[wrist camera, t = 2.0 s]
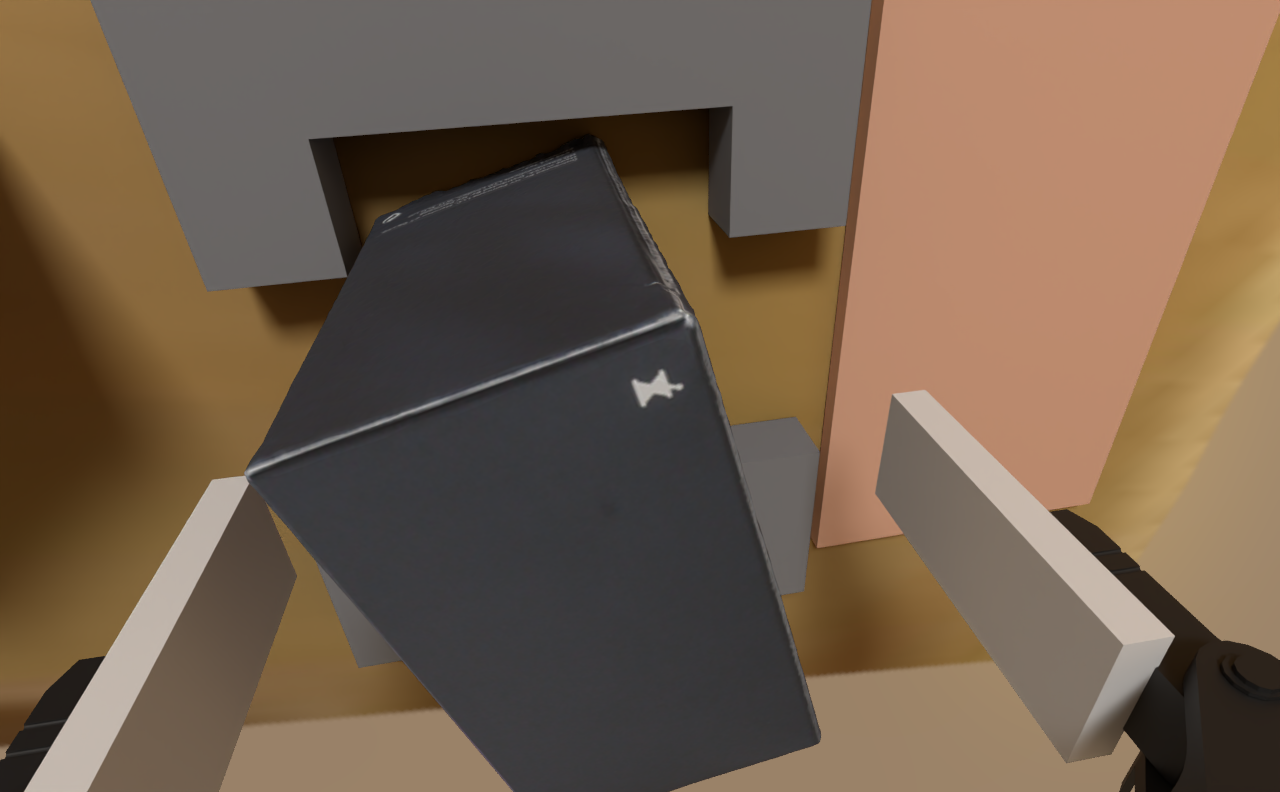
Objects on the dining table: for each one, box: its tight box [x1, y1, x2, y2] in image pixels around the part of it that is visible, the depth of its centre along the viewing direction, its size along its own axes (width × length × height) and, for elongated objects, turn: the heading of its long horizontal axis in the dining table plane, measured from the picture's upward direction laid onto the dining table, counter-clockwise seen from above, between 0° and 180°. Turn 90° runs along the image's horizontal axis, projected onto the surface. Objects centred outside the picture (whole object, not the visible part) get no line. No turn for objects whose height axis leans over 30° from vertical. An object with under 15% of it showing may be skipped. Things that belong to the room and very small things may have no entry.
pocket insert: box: [91, 0, 872, 668], centre depth 19 cm, size 15×19×2 cm
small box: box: [244, 134, 821, 792], centre depth 15 cm, size 11×6×10 cm, turn 18°
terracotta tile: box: [811, 0, 1280, 548], centre depth 21 cm, size 11×18×1 cm, turn 3°
